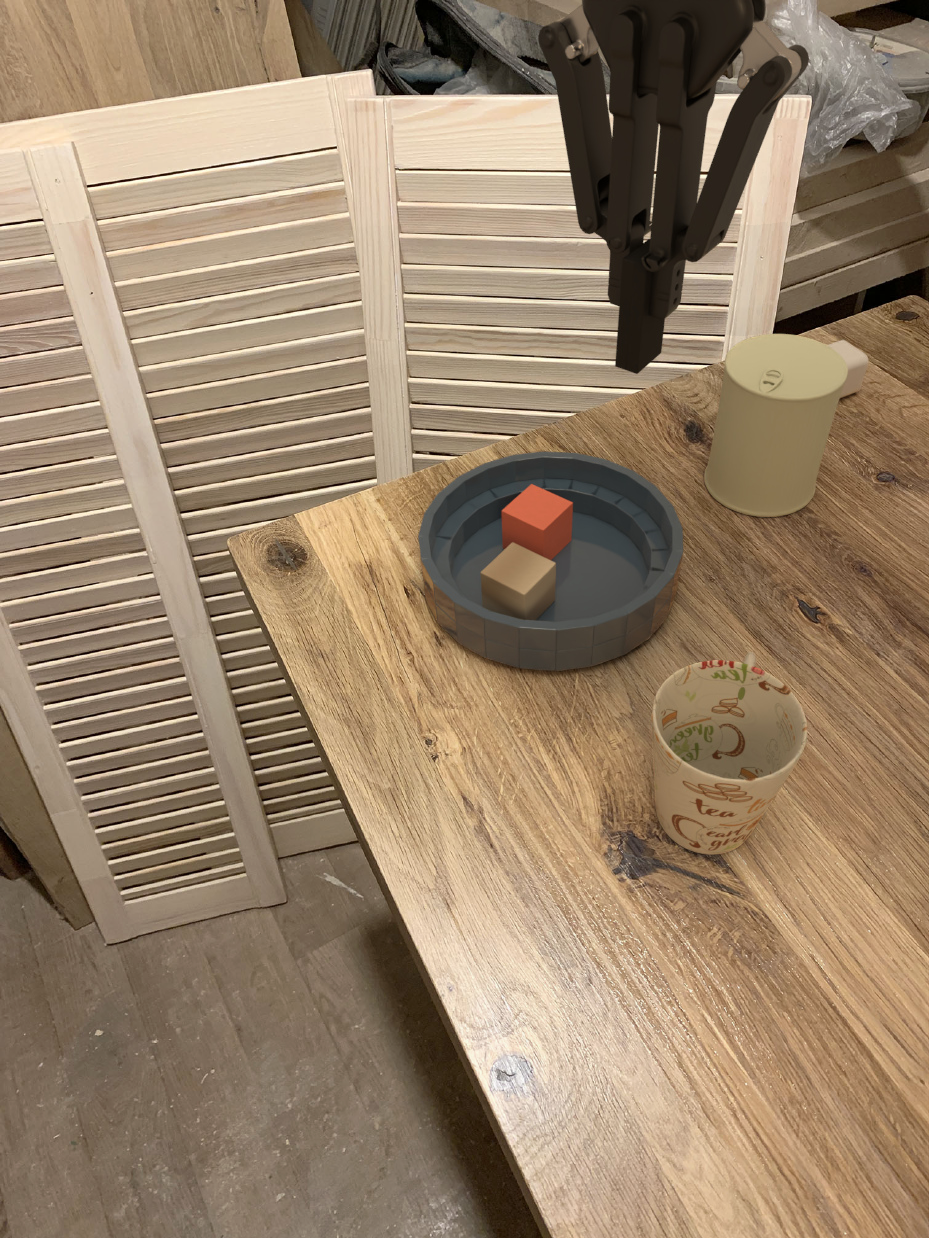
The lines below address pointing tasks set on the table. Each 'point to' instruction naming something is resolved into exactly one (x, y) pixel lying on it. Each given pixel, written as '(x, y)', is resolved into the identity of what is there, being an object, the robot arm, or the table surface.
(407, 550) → the table surface
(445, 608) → the bowl
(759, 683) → the mug
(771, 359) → the can
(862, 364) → the usb wall charger
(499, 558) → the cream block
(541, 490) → the coral block
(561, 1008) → the table surface
